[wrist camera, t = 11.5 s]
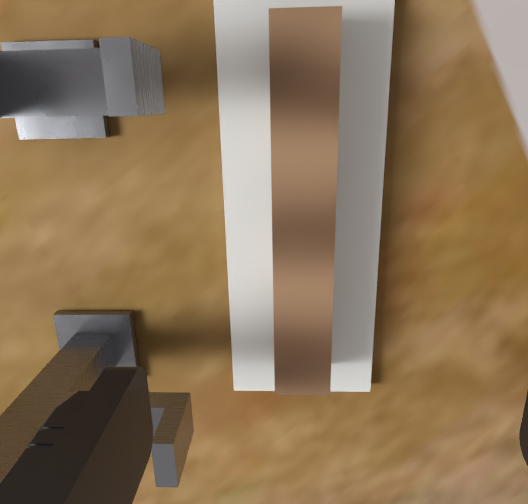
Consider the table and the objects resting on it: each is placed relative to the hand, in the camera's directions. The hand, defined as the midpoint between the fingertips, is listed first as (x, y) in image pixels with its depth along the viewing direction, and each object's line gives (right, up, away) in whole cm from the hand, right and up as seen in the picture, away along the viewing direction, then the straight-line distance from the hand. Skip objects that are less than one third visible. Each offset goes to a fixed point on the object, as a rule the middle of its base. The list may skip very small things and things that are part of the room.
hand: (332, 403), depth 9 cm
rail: (+1, +5, +16) cm, 17 cm away
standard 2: (-10, +12, +15) cm, 22 cm away
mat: (+1, +6, +17) cm, 18 cm away
